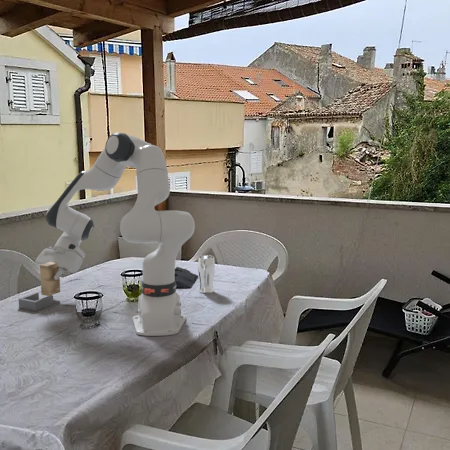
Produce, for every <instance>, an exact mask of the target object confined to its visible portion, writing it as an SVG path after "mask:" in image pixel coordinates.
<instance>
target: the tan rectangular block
mask: <svg viewBox="0 0 450 450" xmlns="http://www.w3.org/2000/svg"><path fill="white" fill-rule="evenodd" d="M57 264H58V263H54V262H48V263H45V264H41V265H40V267H39V274H40V275H39V277H40V288H41V289H40V292H41V296H45V297H47V296H50V295H53V296H54V295H56V294H60V292H61V277H60V276H61V275H60V276H59V277H58V279H57V280H55V279H53V278H52V276H53V274H56V273H57V272H58V271H59V270H58V269H59V267H57Z"/></svg>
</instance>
